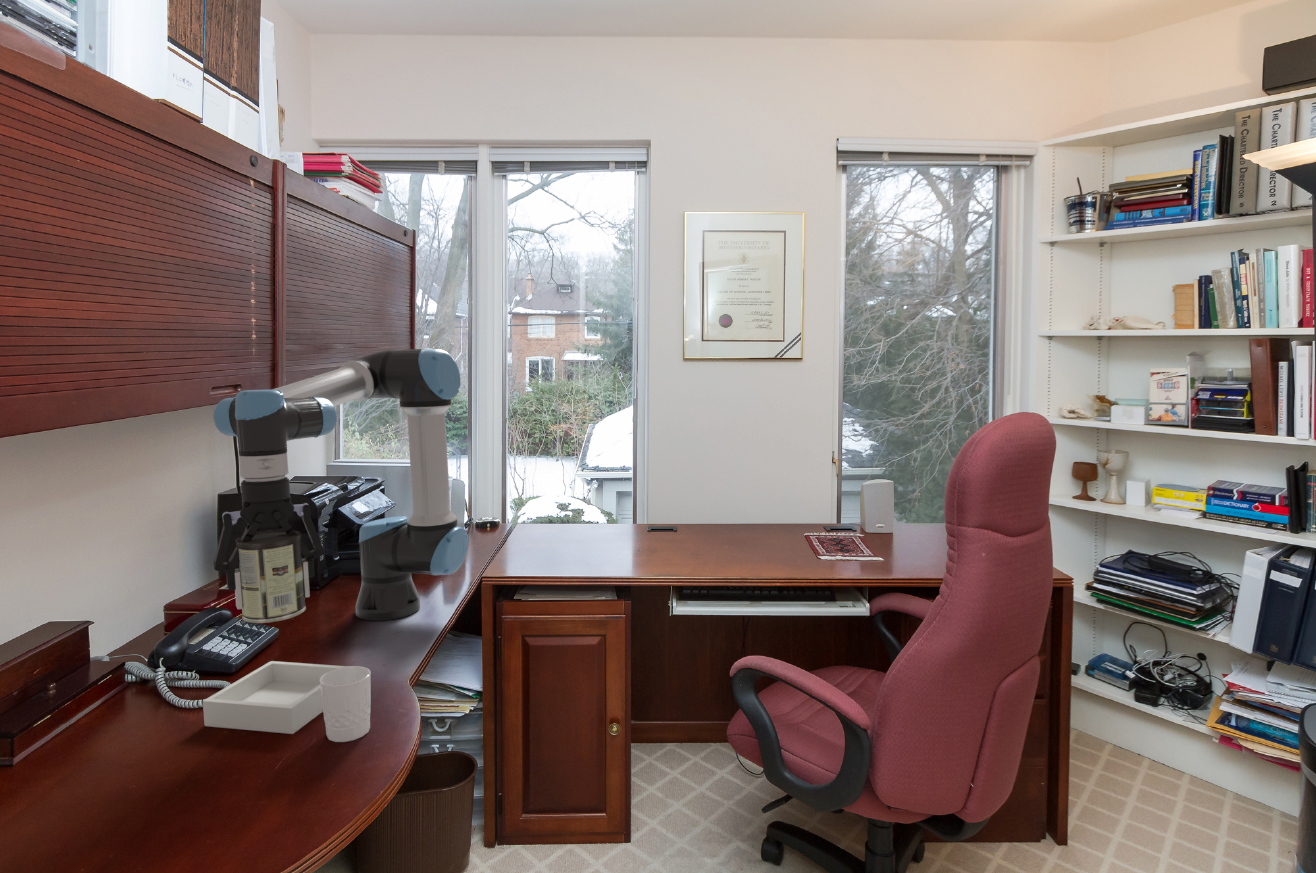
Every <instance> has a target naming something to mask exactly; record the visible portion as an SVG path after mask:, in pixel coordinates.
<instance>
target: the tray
mask: <svg viewBox="0 0 1316 873" xmlns="http://www.w3.org/2000/svg"><path fill="white" fill-rule="evenodd" d="M342 667H348V665H346V666H345V665H331V664H319V663H305V662H304V663H303V662H292V661H291V662H288V661H278V660H277V661H275V660H271V661H268V662H267V663H265V664H264V665H262V666H260V667H258V668H256V669H255V670H253V671H251V672H250V673H248V674H246V675H245V676H243V677H241V678H239V679H238V680H236V681H235V682H232V683H231V684H230V685H228V686H225V687H224V688H222V689H221V690H219V691H217V692H215V693H214V694H212V695H210V696H209V697H207V698H205V699H204V700H202V708H203V710H202V711H203V722H204V727H213V728H223V729H233V730H235V729H236V730H247V731H257V732H268V733H280V734H288V735H289V734H290V735H293V734H295V733H297V732H298V731H299V730H301V729H302V728H304V726H305V725H307V724H308V723H309V722H311V721H312V720H313V719H315V718H316V717H318V716H319V715H320V714H321V713H323V708H322V699H321V690H320V681H319V680H320V678H321V676H322V675H324V674H325V673H327V672H329V671H332V670H334V669H338V668H342Z"/></svg>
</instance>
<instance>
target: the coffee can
mask: <svg viewBox="0 0 1316 873" xmlns="http://www.w3.org/2000/svg"><path fill="white" fill-rule="evenodd" d="M294 531H295V532H296V535H294V536H288V534H287V533H286V532H285V530H284V529H279V530H267V531H264V532H259V531H257V532H256V533H255V535H254V537H253V538H252V540H251V541H249V542H242V541H241V537H242V536H240V537H237V539H235V546H237V548H239V559H240V561H239V563H238V565H237V567H238V569H239V571H240V581H241V594H242V608H243V609H241V612H242V614H241V619H242V620H243V621H244V622H247V623H251V624H265V623H266V624H267V623H268V624H269V623H275V622H280V621H285V620H288V619H289V620H290V619H292V618H295V617H297V616H299V615H301V614H302V613H304V612H305V611H306V610H307V606H306V601H305V600H306V598H305V596H304V582H303V568H302V559H303V556H302V555H303V553H302V552H301V541H300V539H301V540H302V533H301V532H300V531H298V530H294Z"/></svg>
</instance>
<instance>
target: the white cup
mask: <svg viewBox="0 0 1316 873" xmlns="http://www.w3.org/2000/svg"><path fill="white" fill-rule="evenodd" d="M347 666H348V665H347ZM371 676H372V675H371V669H370V668H368V667H365V666H361V665H360V666H359V665H350V666H348V667H342V668H338V669H334V670H332V671H329V672H327V673H325V674H324V675H322V676H321V678H320V680H319V681H320V690H321V699H322V708H323V712H322V713H323V721H324V724H325V734H326V737H327V739H328V741H331V742H334V743H346V742H352V741H355V740H358V739H360V738H362V737H364V736H365V735H366V734H368V733H369V731H370V729H371V709H372V708H371V702H372V701H371V700H372V698H371V697H372V696H371V694H372V692H371V691H372V690H371V688H372V687H371V685H372V684H371V683H372V682H371V681H372V680H371V679H372V678H371Z"/></svg>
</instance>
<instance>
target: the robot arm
mask: <svg viewBox="0 0 1316 873" xmlns="http://www.w3.org/2000/svg"><path fill="white" fill-rule="evenodd" d="M460 388H461V373H460V369H459V366H458V364H457V362H456V360H455V359H454V358H453V356H452V355H451V354H450V353H449V352H447V351H445V350H444V349H440V348H439V349H436V348H417V349H415V348H414V349H413V348H411V349H410V348H409V349H408V348H407V349H404V348H403V349H396V348H395V349H394V348H393V349H385V350H380V351H376V352H373V353H370V354H366V355H363V356H360V357H357V358H355V359H351V360H348V361H345V362H343V363H342V364H341V365H340V367H339V368H337V369H334V370H330V371H327V372H323V373H321V374H318V375H315V376H311V377H308V378H305V379H302V380H299V381H295V382H292V383H289V384H286V385H283V386H278V387H276V388H271V389H247V390H241V391H238V392H237V393H236V395H235V396H234V397H227V398H223V399H221V400H220V401H219V402H217V404H216V405H215V408H214V410H213V416H212V417H213V422H214V425H215V427H216V429H217V430H218V432H219V433H221V434H223V435H225V436H227V437H228V436H229V437H236V438H237V444H238V445H237V447H238V464H239V478H242V479H243V480H242V481H241V482H240V491H241V507H240V510H237V511H236V510H235V511H231V512H229V511H227V510H226V511H223V512H222V513H221V516H222V517H221V518H222V524H223V525H222V528H221V533H220V536H219V541H218V545H217V549H216V552H215V557H214V561H213V567H214V570H215V571H216V572H225V575H226V587H227V589H228V590H229V591H234V593H235V594H234V596H235V606H236V608H237V610H242V609H243V608H242V594H241V581H240V571H239V568H237V567H238V563H239V561H240V559H239V548H237V545H235V546H236V547H235V548H234V550H233V551H232V554H231V555H230V557H229V558H228V560H227V562H225V560H226V555H227V551H228V549H229V548H228V547H229V545H230V544H229V543H230V540H231V537H232V532H233V526H234V525H236V524H237V522H238V520H239V518H242V520H244V521H245V523H246V524H247V525H246V527H245V528H244V531H243V533H242V535H241V536H240V537H241V541H242V542H249V541H251V540H252V538H253V537H254V535H255V533H258V532H264V531H273V530H281V529H282V530H285V532H286V533H287V534H288V536H294V535H296V532H295V531H296V530H294V529H293V527H292V526H291V525H290V524H289V522H288V520H289V519H290V517H291V516H292V514H293V513H294V512H296V514H297V516H299V517H300V518H301V519H302V522H303V524H304V527H305V530H306V532H307V534H308V537H309V540H310V542H311V544H312V547H313V549H311V550H310V549H309V547H307V545H306V544H305V542H304V541H303V540H302V538H301V539H300V541H301V553H302V555H303V556H304V558H302V568H303V582H304V596H305V599H306V598H311V597H310V596H311V594H310V592H311V591H310V579H309V578H315V575H316V572H315V560H316V558H318V557H321V556H323V555H324V554H325V549H324V547H323V544H322V542H321V539H320V537H319V534H318V532H317V530H316V527H315V525H314V523H313V520H312V516H311V515H312V513H311V509H312V508H311V505H310V504H308V503H307V502H303V503H301V504H293V503H292V501H291V488H290V479H289V478H288V477H287V475H288V474H289V465H288V464H289V460H288V441H292V440H293V441H294V440H300V439H307V438H309V439H310V438H319V437H321V436H325V435H328V434H330V433H331V432H332V431H333V430H335V427H336V426H337V422H338V416H337V414H338V413H337V410H336V408H335V407H337V406H340V405H342V404H343V405H344V404H345V403H349V402H351V401H354V402H364V401H366V400H369V399H399V408H400V409H401V410H402V411H403V412H404V413H406V415H407V416H406V417H407V430H408V431H407V433H408V447H409V448H408V449H409V451H408V452H409V464H410V465H409V466H410V467H409V468H410V484H411V498H412V514H411V515H410V517H408V516H404V515H403V516H402V515H401V516H391V517H384V518H379V519H375V520H371V521H368V522H366V523H363V525H361V526H360V528H359V537H358V538H359V540H358V546H359V559H360V572H361V573H360V576H361V585H360V588H359V589H360V590H359V593H358V596H357V598H356V603H355V616H356V617H357V618H359V619H361V620H365V621H372V622H373V621H377V622H378V621H379V622H380V621H391V620H395V619H400V618H405V617H407V616H410V615H413V614H414V613H416V612H418V611H419V610H420V608H421V599H420V595H419V592H418V591H417V588H416V586H415V585H416V584H415V583H414V581H413V578H412V574H422V575H423V574H424V575H432V576H443V575H444V576H450V575H453V574H454V573H455V572H457V571H458V570H459V569H460V568H461V567H462V565H463V563H464V561H465V559H466V556H467V553H468V548H469V535H468V533H467V531H466V529H465V528H463V527H462V526H459V525H458V517H457V515H456V514H454V512H452V511H451V500H450V498H451V497H450V482H449V479H450V478H449V464H448V445H447V444H448V441H447V440H448V439H447V423H446V412H447V411H448V410H449V409H450V408H451V407H452V399H454V398H455V397H456V396H457V395H458V394H459V391H460V390H459V389H460Z"/></svg>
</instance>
